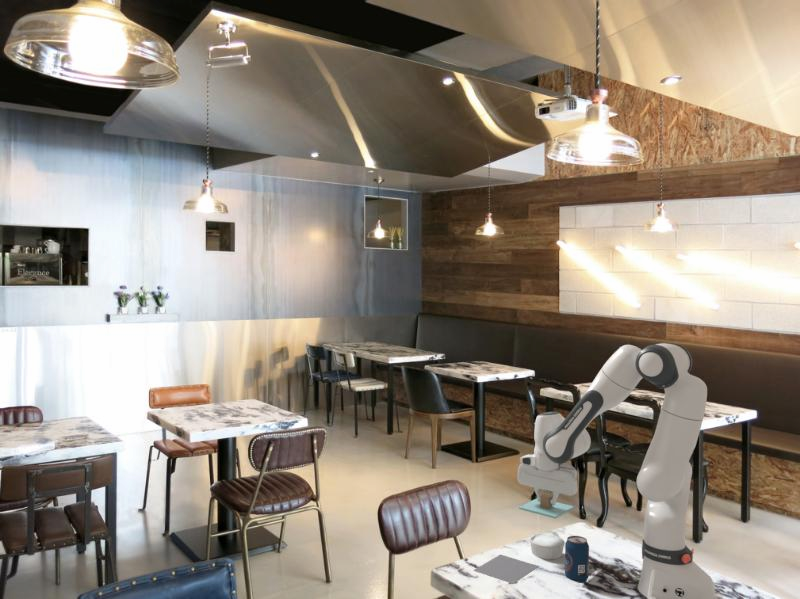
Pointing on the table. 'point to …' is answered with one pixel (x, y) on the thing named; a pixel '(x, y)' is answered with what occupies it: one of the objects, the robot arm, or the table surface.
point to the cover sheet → (545, 511)
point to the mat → (506, 568)
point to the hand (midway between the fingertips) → (546, 502)
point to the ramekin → (547, 546)
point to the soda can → (577, 558)
